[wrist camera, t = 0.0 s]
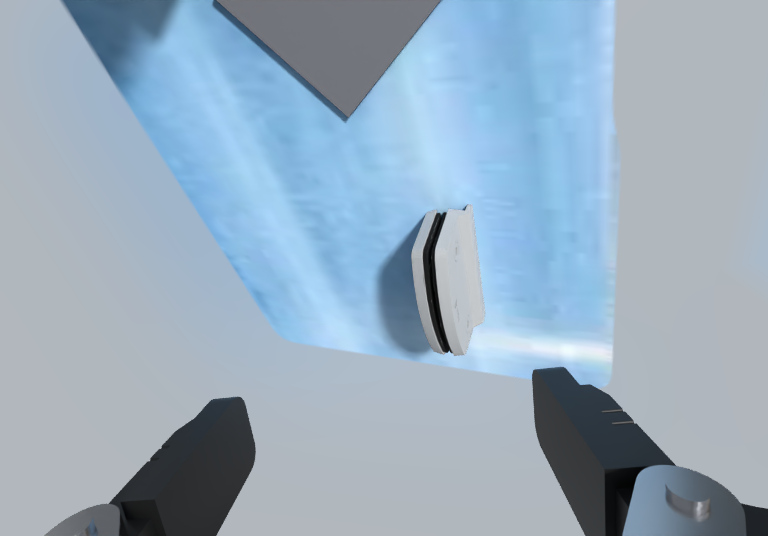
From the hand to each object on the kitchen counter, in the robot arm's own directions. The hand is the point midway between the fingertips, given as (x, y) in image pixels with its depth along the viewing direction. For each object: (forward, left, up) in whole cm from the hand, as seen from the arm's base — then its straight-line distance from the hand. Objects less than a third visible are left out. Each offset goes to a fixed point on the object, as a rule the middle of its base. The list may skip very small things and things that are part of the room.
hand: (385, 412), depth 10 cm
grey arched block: (+16, -8, -32) cm, 37 cm away
